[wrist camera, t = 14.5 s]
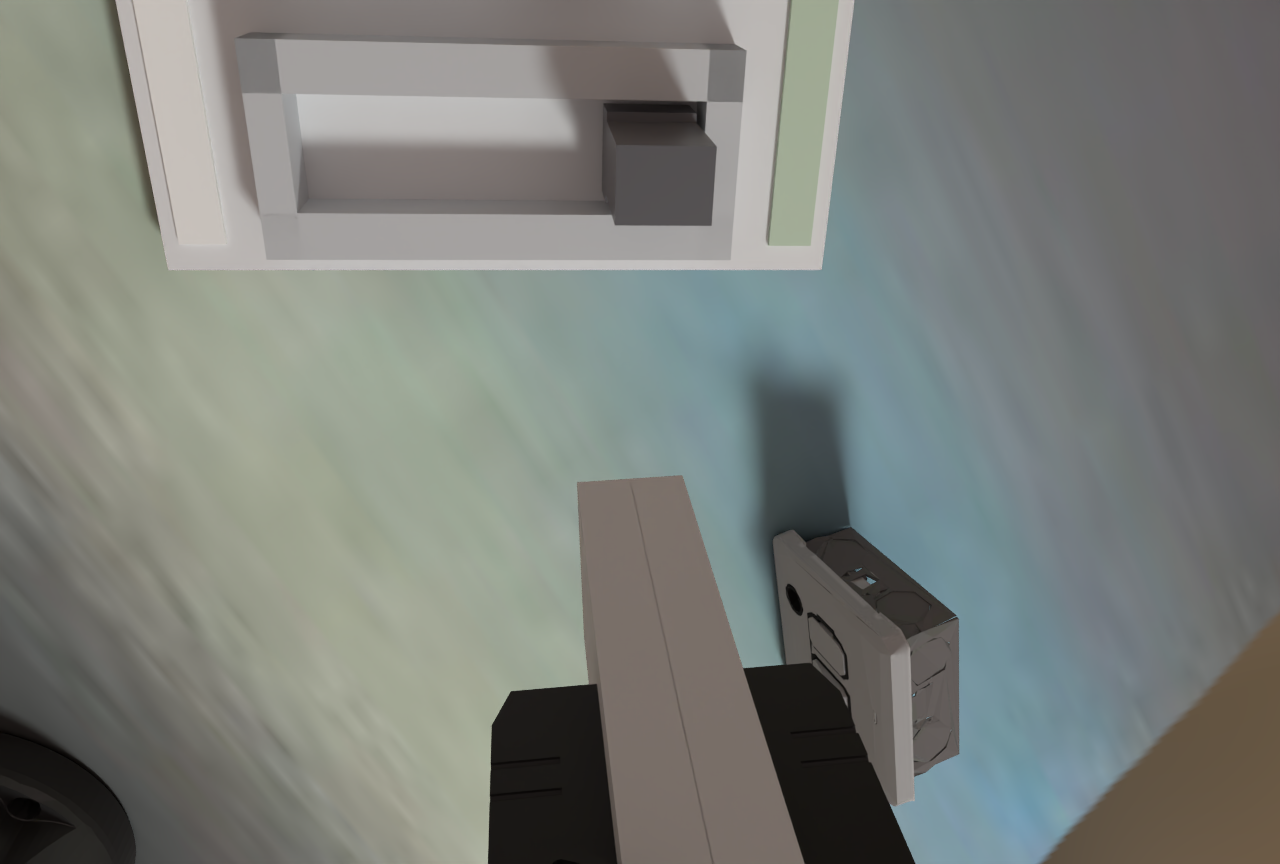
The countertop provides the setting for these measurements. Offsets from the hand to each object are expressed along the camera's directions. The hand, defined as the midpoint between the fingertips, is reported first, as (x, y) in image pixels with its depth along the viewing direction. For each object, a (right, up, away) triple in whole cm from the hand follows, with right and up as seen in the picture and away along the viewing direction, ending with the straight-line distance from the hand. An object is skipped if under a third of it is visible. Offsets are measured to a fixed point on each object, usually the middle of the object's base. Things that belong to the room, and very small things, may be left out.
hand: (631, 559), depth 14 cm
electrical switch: (+9, -6, +33) cm, 34 cm away
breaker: (0, +12, +20) cm, 24 cm away
